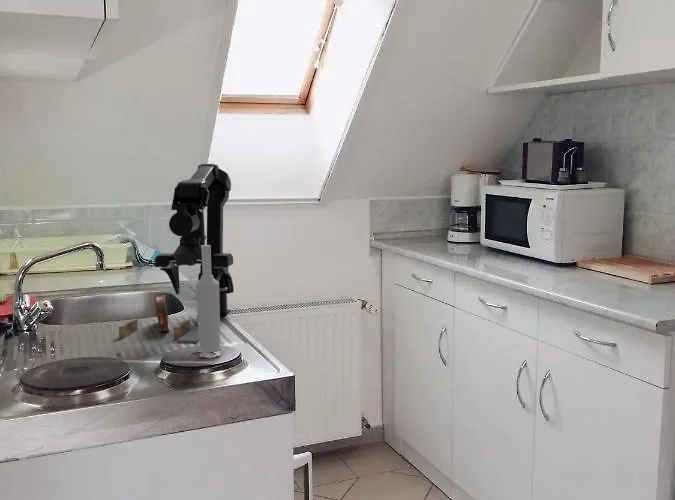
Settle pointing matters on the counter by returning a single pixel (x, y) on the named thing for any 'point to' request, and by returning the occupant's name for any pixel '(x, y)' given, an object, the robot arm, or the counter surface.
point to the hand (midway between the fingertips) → (195, 294)
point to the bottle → (208, 306)
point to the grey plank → (190, 336)
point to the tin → (162, 313)
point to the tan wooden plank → (133, 326)
